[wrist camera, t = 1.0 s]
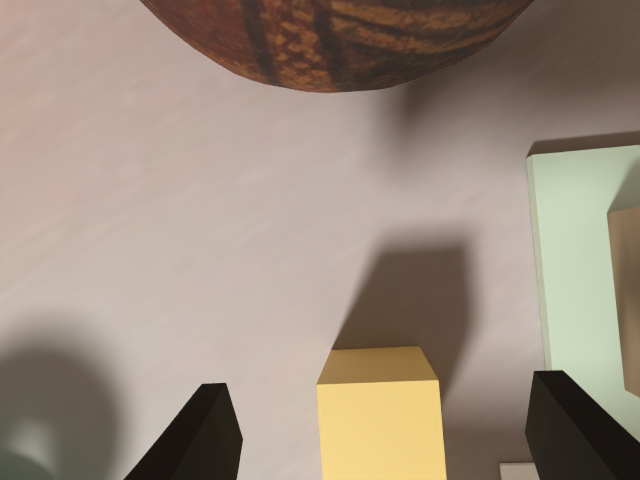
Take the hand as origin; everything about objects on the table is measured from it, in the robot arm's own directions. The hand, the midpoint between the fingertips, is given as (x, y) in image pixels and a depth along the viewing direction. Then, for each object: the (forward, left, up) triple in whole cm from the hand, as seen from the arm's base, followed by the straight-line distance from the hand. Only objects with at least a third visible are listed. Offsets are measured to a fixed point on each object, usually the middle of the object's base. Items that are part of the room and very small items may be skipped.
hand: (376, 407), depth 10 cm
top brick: (-3, 0, -11) cm, 12 cm away
